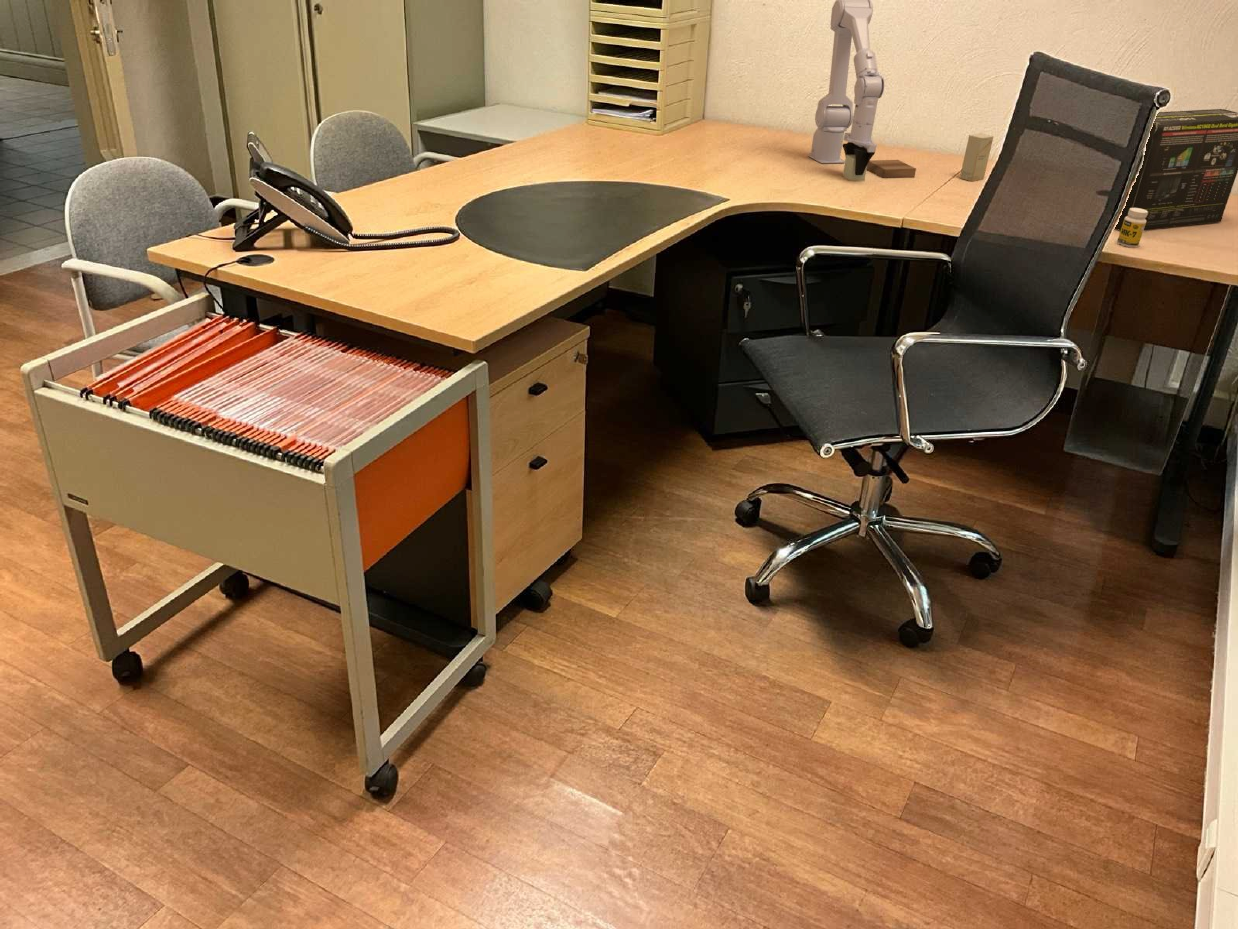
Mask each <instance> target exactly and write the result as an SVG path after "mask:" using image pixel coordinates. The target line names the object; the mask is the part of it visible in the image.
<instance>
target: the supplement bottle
mask: <svg viewBox="0 0 1238 929" xmlns="http://www.w3.org/2000/svg"><path fill="white" fill-rule="evenodd" d="M1147 213H1148V211H1147V210H1144V209H1140V208H1130V209H1129V212H1128V216H1126V217H1125V219H1124V222H1123V225H1122V228H1121V230H1119V231H1120V232H1119V234H1118V237H1117V240H1116V241H1117V242H1116V243H1117V244H1118V243H1119V244H1121V245H1122V247H1125V246H1126V248H1132V247H1134V248H1137V247H1139V245H1140V242H1141V238H1142V236H1143V234H1144V231H1145V230H1144V227H1145V224H1146V219H1145V218H1146V216H1147ZM1119 244H1118V245H1119ZM1121 245H1120V246H1121Z"/></svg>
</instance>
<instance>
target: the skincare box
mask: <svg viewBox="0 0 1238 929" xmlns="http://www.w3.org/2000/svg"><path fill="white" fill-rule="evenodd" d="M967 139H968V140H967V144H966V147H965V148H966V149H965V152H964V156H963V157H964V158H963V162H962V167H961V170H960V175H959V179H961V180H965V181H969V182H975V181H976V182H977V181H981V180H984V179H985V176H986V175H985V174H986V170H987V166H988V162H989V157H990V152H991V149H992V144H993V140H994V135H990V134H986V133H985V134H984V133H974V134H970V135H968V138H967Z"/></svg>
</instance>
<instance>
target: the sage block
mask: <svg viewBox="0 0 1238 929" xmlns="http://www.w3.org/2000/svg"><path fill="white" fill-rule="evenodd" d="M844 161H845V163H844V164H843V165H844V167H843V171H842V177H843V178H845V179H846V180H848V181H850V182H852V181H865V180H866V175H867V170H866V169H867V166H866V169H865V171H864V173H863V175H855V165H856V158H855V155H846V157H845V160H844Z"/></svg>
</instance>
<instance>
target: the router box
mask: <svg viewBox="0 0 1238 929" xmlns="http://www.w3.org/2000/svg"><path fill="white" fill-rule="evenodd" d="M1158 112H1159V113H1158V114H1157V116H1156V119H1155V121H1154V123H1153V127H1152V129H1151V131H1150V137H1149V139H1148V142H1147V144H1146V151H1145V155H1144V161H1143V165H1142V168H1141V169H1140V171H1139V175H1138V176H1137V178H1136V182H1135V183H1134V185H1133V186H1132V190H1131V192H1130V194H1129V198H1128V200H1127V202H1126V206H1125V208H1124V209H1123V211H1122V215H1121V216H1120V218H1119V222H1118V224H1117V225H1116V227H1115V228H1114V229H1115V230H1118V231H1121V228H1122V225H1123V222H1124V219H1125V217H1126V216H1128V212H1129V209H1130V208H1140V209H1144V210H1147V211H1148V213H1147V216H1146V218H1145V219H1146V224H1145V227H1144V230H1143V231H1149V230H1159V229H1168V228H1169V229H1170V228H1175V227H1177V228H1178V227H1186V226H1188V227H1189V226H1197V225H1204V224H1213V223H1221V222H1222V219H1223V216H1224V212H1225V210H1226V207H1227V204H1228V200H1229V199H1230V196H1231V193H1232V189H1233V186H1234V184H1235V180H1236V177H1237V174H1238V112H1237V111H1232V110H1230V109H1229V110H1228V109H1225V108H1224V109H1222V108H1215V109H1196V110H1195V109H1193V110H1177V111H1175V110H1174V111H1172V110H1171V111H1158Z"/></svg>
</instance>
